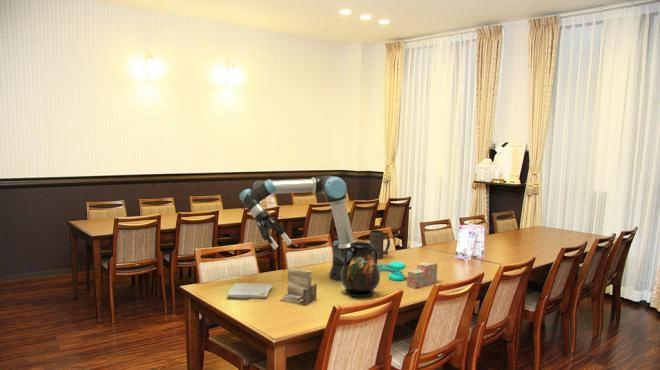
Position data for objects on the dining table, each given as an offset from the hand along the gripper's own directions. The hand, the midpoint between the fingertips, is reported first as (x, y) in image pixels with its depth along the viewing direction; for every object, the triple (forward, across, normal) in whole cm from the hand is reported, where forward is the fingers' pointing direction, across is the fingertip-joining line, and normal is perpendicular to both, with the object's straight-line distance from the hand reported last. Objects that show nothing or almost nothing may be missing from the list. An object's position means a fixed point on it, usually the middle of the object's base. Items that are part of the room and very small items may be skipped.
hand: (283, 245), depth 259 cm
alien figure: (+39, -84, 0) cm, 92 cm away
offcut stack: (+26, +6, -11) cm, 29 cm away
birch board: (+26, 0, -11) cm, 29 cm away
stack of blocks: (+60, -64, +22) cm, 91 cm away
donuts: (+48, -68, +10) cm, 84 cm away
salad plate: (+8, +4, -32) cm, 33 cm away
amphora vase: (+43, -26, +4) cm, 51 cm away
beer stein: (+28, -114, -10) cm, 118 cm away
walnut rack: (+27, +2, -11) cm, 30 cm away
